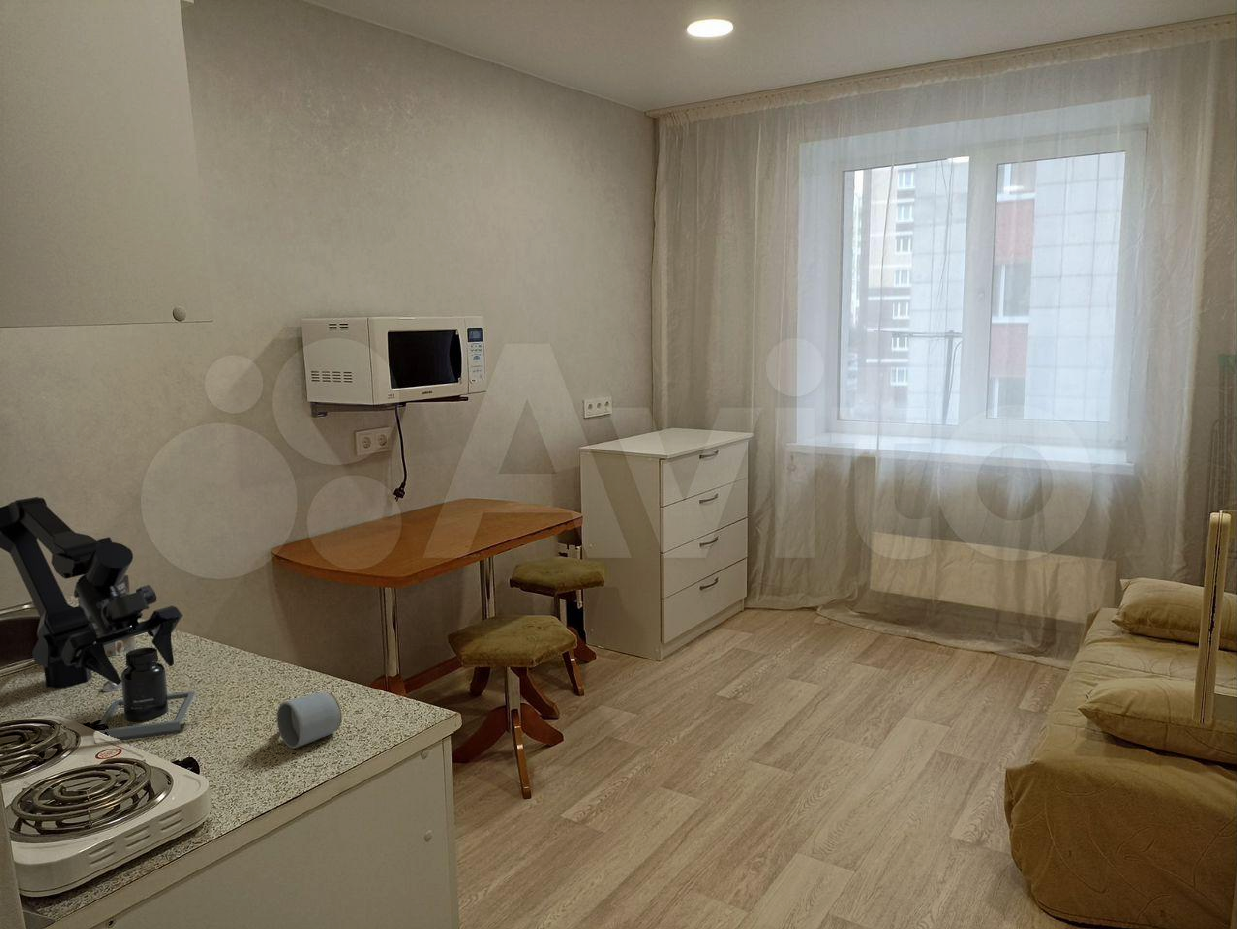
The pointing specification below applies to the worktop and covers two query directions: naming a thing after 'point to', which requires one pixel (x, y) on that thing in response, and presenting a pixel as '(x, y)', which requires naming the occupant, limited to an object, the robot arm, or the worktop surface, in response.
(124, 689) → the supplement bottle
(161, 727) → the tray
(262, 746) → the worktop surface
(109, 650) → the coffee box
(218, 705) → the worktop surface
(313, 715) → the ceramic mug
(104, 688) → the mixing ball
